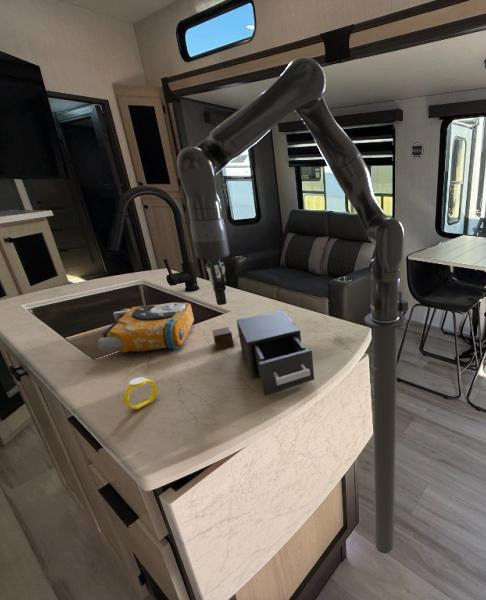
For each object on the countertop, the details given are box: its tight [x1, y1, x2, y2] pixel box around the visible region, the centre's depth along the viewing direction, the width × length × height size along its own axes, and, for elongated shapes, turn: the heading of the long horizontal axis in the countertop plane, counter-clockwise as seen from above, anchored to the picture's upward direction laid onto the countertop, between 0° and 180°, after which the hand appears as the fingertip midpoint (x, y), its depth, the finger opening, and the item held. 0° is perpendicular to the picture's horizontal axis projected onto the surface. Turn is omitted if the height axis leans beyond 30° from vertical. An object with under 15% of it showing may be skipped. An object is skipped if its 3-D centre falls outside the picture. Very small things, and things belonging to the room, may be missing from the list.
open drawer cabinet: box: [251, 334, 315, 396], centre depth 75 cm, size 19×11×8 cm, turn 32°
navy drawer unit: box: [236, 310, 302, 378], centre depth 85 cm, size 16×13×10 cm
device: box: [97, 302, 195, 353], centre depth 96 cm, size 23×8×30 cm
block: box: [211, 326, 235, 351], centre depth 92 cm, size 4×4×4 cm
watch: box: [122, 376, 159, 410], centre depth 67 cm, size 6×3×6 cm, turn 158°
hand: (221, 303), depth 84 cm, fingers closed
